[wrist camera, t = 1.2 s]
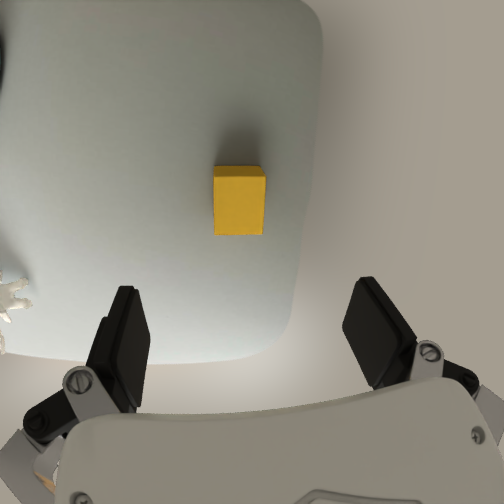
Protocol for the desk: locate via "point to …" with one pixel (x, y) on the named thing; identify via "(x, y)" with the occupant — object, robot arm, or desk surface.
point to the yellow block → (238, 200)
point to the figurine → (11, 302)
